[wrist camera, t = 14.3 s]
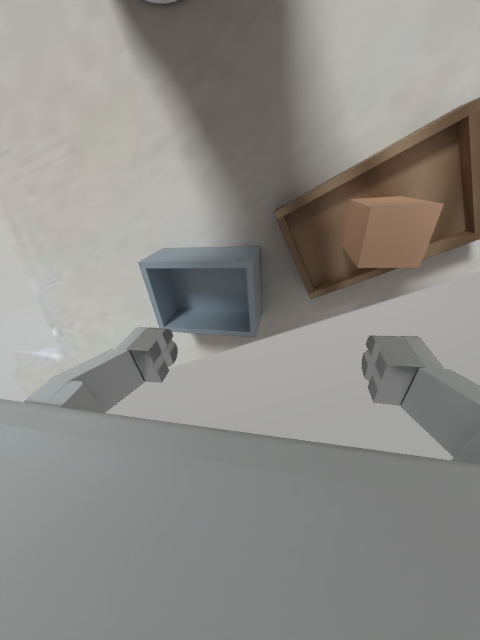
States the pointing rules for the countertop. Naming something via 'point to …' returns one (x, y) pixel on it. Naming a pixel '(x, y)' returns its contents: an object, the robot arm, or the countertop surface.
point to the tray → (388, 181)
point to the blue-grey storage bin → (205, 289)
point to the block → (389, 231)
